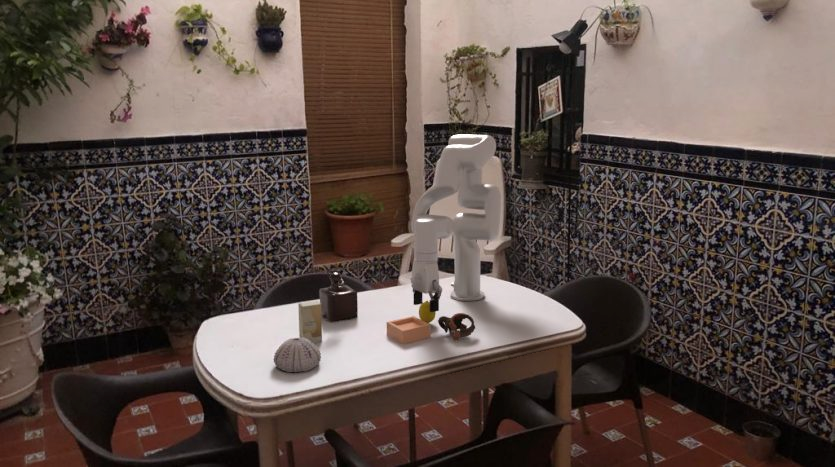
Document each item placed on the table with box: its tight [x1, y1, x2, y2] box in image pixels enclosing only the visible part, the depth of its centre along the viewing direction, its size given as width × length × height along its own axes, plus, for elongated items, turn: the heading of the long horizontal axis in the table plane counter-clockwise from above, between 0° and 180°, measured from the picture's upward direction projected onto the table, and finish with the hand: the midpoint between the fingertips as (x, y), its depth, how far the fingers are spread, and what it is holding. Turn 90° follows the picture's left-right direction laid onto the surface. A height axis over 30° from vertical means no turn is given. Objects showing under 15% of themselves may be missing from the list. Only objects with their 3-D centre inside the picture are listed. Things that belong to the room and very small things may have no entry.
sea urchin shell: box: [273, 337, 322, 373], centre depth 193 cm, size 13×14×8 cm
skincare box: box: [297, 300, 323, 343], centre depth 211 cm, size 6×4×12 cm
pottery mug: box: [437, 312, 476, 341], centre depth 214 cm, size 12×10×8 cm
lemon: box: [418, 300, 437, 324], centre depth 225 cm, size 6×6×8 cm
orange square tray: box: [386, 315, 431, 345], centre depth 214 cm, size 10×10×4 cm
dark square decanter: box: [318, 269, 359, 323], centre depth 231 cm, size 16×11×18 cm
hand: (426, 307), depth 224 cm, fingers open, 9 cm apart
